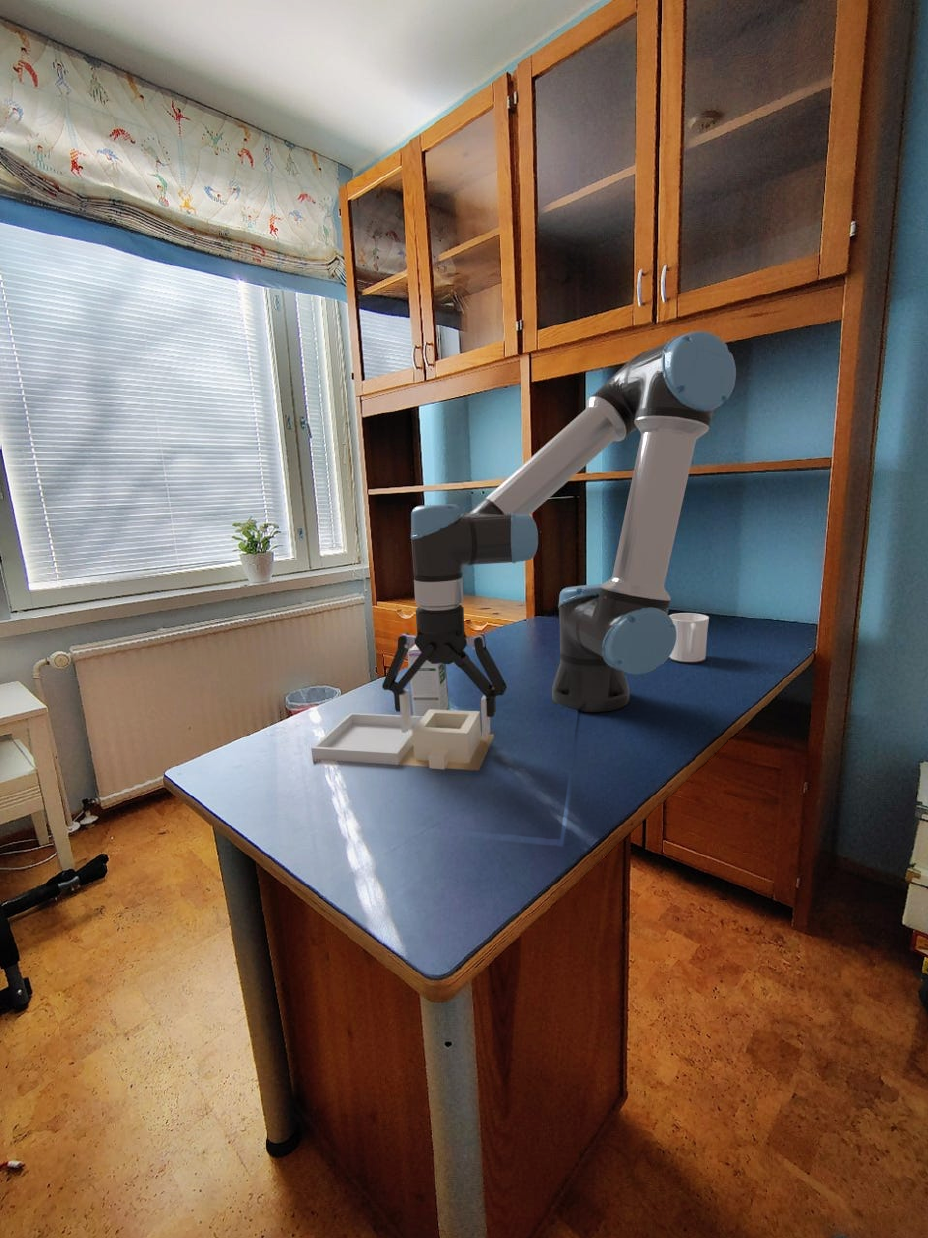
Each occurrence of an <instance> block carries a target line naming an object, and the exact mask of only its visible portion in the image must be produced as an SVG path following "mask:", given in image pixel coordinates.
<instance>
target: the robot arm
mask: <svg viewBox="0 0 928 1238" xmlns="http://www.w3.org/2000/svg"><path fill="white" fill-rule="evenodd" d="M734 359H735V358H734V356H733V354H732V353H731V352H730V351H729V349H728V345H727V344H726V343H725V341H723V340H722V339H721V338H720V337H719V336H717V335H715V334H713V333H711V332H708V331H704V330H703V331H701V330H698V331H692V332H689V333H686V334H679V335H676V336H675V337H673V338H671V339H670V340H669V341H667V342H664V343H662V344H660V345H658V346H655V347H653V348H650V349H648V350H646V351H643V352H641V353H639V354H637V355H635V356H634V357H632V358H631V359H630V360H628V361H627V362H626V363H625V364H624V365H623V366H622V367H621V368H619V370H618V371H616V372H615V373H614V375H612V376H611V377H610V378H609V379H608V380H607V381H606V382H605V383H604V384H603V385H602V386H600V388H599V389H598V390H596V392H594V393H593V395H591V396H590V397H589V398H588V399H587V401H586V403H585V404H586V405H585V406H586V407H585V409H584V410H583V411H582V412H581V413H580V414H578V415H577V416H576V417H575V418H574V419H573V420H572V421H570V422H569V424H567V425H566V426H565V427H564V428H563V429H562V430H561V431H559V432H558V433H557V434H556V435H555V436H554V437H553V438H552V439H550V440H549V441H548V442H547V443H546V444H545V445H544V446H543V447H541V448H540V449H539V450H538V451H537V452H535V453H534V454H533V455H532V456H531V458H529V459H528V460H527V461H526V462H524V464H522V465H521V466H520V467H519V468H518V469H517V470H515V471H514V473H512V474H511V475H510V476H508V478H506V479H505V480H504V481H503V482H502V483H501V484H500V485H499V486H498V487H496V488H495V489H494V490H493V491H492V492H491V493H490V494H488V495H487V497H485V498H484V499H483V500H482V501H481V502H479V504H477V505H476V506H475V507H473V509H472V510H471V511H466V512H464V513H461V510H460V507H459V505H457V504H454V503H453V504H451V503H450V504H429V505H428V504H425V505H418V506H416V507H414V508H413V509H412V511H411V512H410V521H411V522H410V526H411V527H410V528H411V529H410V539H411V553H412V554H411V555H412V568H413V584H414V585H413V586H414V603H415V605H416V606H417V608H416V609H415V619H416V620H415V621H416V622H415V623H416V635H412V634H410V632H404V633H403V634H401V635H400V636H399V637H398V639H397V650H396V653H395V654H394V656H393V659H392V661H391V663H390V666H389V668H388V671H387V673H386V675H385V678H384V680H383V682H382V684H381V687H382V689H383V690H384V691H390V692H392V693H393V698H394V708H395V711H396V712H398V713H400V715H401V727H402V733H406V732H407V731H408V730H409V729H410V727H411V716H412V714H411V711H412V710H411V699H410V698H411V695H410V689H405V688H406V686H407V685H408V684H410V680H411V679H412V678H413V677H414V675H415V674H416V673H417V672H418V670H419V669H420V668H421V667H422V665H423V664H424V663H425V662H426V661H427V660H428V661H429V662H431V664H437V663H443V664H446V665H451V664H453V663H454V664H455V665H456V666H457V668H460V669H461V670H462V671H463V672H464V674H465V675H466V676H467V677H468V678H469V679H470V681H471V682H472V683H473V684H474V685H475V687H476V688H478V690H479V691H480V692H481V693H482V694H483V695H482V697H481V699H480V710H481V711H480V716H481V734H482V738H487V737H488V735H489V734H491V733H490V732H491V718H493V717H494V716H495V714H496V711H497V708H496V707H497V704H496V702H497V701H496V700H497V699H496V697H497V696H498V697H499V696H503V695H504V694H505V692H506V691H507V684H506V682H505V680H504V678H503V677H502V674H501V672H500V671H499V669H498V666H497V665H496V663H495V661H494V659H493V657H492V655H491V654H490V652H489V650H488V648H487V644H486V643H487V642H486V637H485V635H484V634H482V633H480V634H477V636H467V635H466V632H465V608H464V607H463V605H462V603H463V601H464V588H463V587H464V585H463V584H464V583H463V566H473V565H474V566H475V565H489V564H492V565H493V564H505V563H507V564H509V563H512V564H516V563H518V562H519V563H521V562H526V561H527V562H528V561H531V560H532V559H533V558H534V557H535V555H536V553H537V552H538V551H537V550H538V545H539V533H538V527H537V523H536V521H535V519H534V518H533V517H532V516H531V515H532V514H533V513H534V512H535V511H536V510H538V508H539V507H541V506H542V505H543V504H544V503H546V502H547V501H548V500H549V498H550V497H552V496H554V494H555V493H557V491H559V489H561V488H562V487H564V486H565V484H566V483H568V482H569V481H570V480H571V479H572V478H573V477H575V476H576V475H577V473H579V472H580V471H581V470H582V469H584V467H586V466H587V465H588V464H589V463H590V462H592V460H593V459H595V458H597V456H598V455H599V454H601V453H602V452H603V451H604V450H605V449H606V448H607V447H608V446H609V445H610V444H611V443H612V442H621V441H623V440H624V439H626V438H627V437H628V436H629V435H630V434H631V433H633V432H635V431H636V430H637V429H638V431H639V433H640V439H639V444H638V449H637V454H636V458H635V463H634V468H633V472H632V473H633V474H632V478H631V484H630V488H629V492H628V498H627V504H626V506H625V507H626V508H625V512H624V518H623V521H622V522H623V523H622V527H621V532H620V537H619V542H618V547H617V552H616V556H615V560H614V561H615V562H614V565H613V571H612V575H611V578H609V579H608V580H606V581H605V582H603V583H600V584H599V583H598V584H585V585H583V584H582V585H577V586H568V587H565V588H563V589H562V590H561V591H560V593H559V596H558V597H559V598H558V605H557V606H558V607H557V608H558V617H559V618H558V620H559V621H558V622H559V623H558V624H559V651H560V652H559V656H560V657H559V658H560V660H559V661H560V662H559V665H558V668H557V671H556V674H555V677H554V680H553V684H552V688H551V700H552V701H553V702H554V704H556V705H561V706H563V707H566V708H569V709H574V710H577V711H578V712H583V713H602V712H610V711H616V710H618V709H621V708H624V707H625V706H626V705H628V704H629V702H630V686H629V684H628V680H627V677H626V674H630V675H643V674H647V673H650V672H652V671H655V670H656V668H658V667H659V666H662V665H663V664H664V663H665V662H666V661H667V660H668V659H669V656H670V655H671V653H672V651H673V649H674V646H675V643H676V638H677V632H676V627H675V625H674V624H673V620H672V619H671V617H670V616H669V615H670V614H668V613H669V609H670V608H669V607H670V604H671V596H670V594H669V592H667V590H666V588H665V582H666V579H667V574H668V569H669V565H670V559H671V556H672V552H673V546H674V542H675V539H676V538H675V537H676V534H677V533H676V532H677V529H678V525H679V524H678V523H679V518H680V515H681V511H682V510H681V509H682V505H683V502H684V497H685V492H686V487H687V483H688V480H689V479H688V478H689V474H690V469H691V464H692V461H693V455H694V451H695V447H696V442H697V440H699V438H701V437H702V436H704V435H705V434H706V433H708V432H709V430H710V425H711V421H712V417H713V413H714V410H716V409H717V408H718V407H720V406H721V405H723V403H724V402H725V401H727V400H728V399H729V398H730V396H731V394H732V392H733V390H734V387H735V385H736V376H737V368H736V364H735V363H736V362H735V360H734ZM415 644H416V646H417V647H418V649H419V650H420V651H421V654H420V655H419V657H418V658H417V659H416V660H415V662H414V663H413V665H412V666H411V667H410V668H409V667H408V670H407V671H406V672H405V673H404V675H402V676H401V678H400V679H399V681H398V682H397V681H396V680H397V677H398V676H399V673H400V670H401V668H402V666H403V664H404V661H405V659H406V656H408V654H407V652H408V650H410V649H411V648H412V647H413V646H414V645H415ZM467 646H470V648H471V650H472V651H474V652H475V654H476V657H477V658H478V661H479V662H480V664H481V666H482V667H483V668H482V669H484V672H485V673H486V675H487V677H488V678H487V677H486V675H484V674H483V673H482V671H481V670H480V669H479V668H478V667H477V666H476V665H475V663H474V662H473V661H472V660H471V658H470V656H469V655H468V654H467V652H466V651H465V649H466V647H467ZM625 673H626V674H625ZM488 679H489V680H488Z"/></svg>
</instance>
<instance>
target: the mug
mask: <svg viewBox="0 0 928 1238" xmlns="http://www.w3.org/2000/svg"><path fill="white" fill-rule="evenodd" d="M668 615H669V616H670V617H671V619H672V620H673V624H674V625H675V627H676V632H677V638H676V643H675V646H674V649H673V651H672V653H671V655H670V656H669V657H668V659H669V660H670V661H671V662H674V663H678V664H683V665H697V664H702V663H704V662H705V660H706V657H707V656H706V655H707V640H708V639H707V638H708V628H709V620H710V616H708V615H706V614H701V613H693V612H682V613H681V612H679V613H672V614H668Z"/></svg>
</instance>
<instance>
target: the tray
mask: <svg viewBox="0 0 928 1238" xmlns="http://www.w3.org/2000/svg"><path fill="white" fill-rule="evenodd" d="M422 718H423V716H413V715H411V727H410V729H409V730H408V731H407V732H406V733H402V727H401V714H382V713H380V714H379V713H356V712H350V713H349V714H347V716H345V717H344V718H343V719H342V720H341V721H340V722H339V723H337V724H336V725H335V726H334V727H333V728H332V729H331V730H329V732H327V733H326V734H325V735H324V736H323V737H322V738H321V739H320V740H318V742H316V743H315V744H314V745H313V746H312V747H311V757H312V762H313V763H319V762H320V761H321V760H322V761H334V762H335V761H337V762H351V763H366V764H379V765H381V764H382V765H394V766H396V765H397V766H400V765H399V763H400V762H401V760H402V759H403V758H404V756H405V755H406V754H407V752H408V751H409V750H410V748H411V747H412V746H413V735H412V730H413V729H414V728H415V726H416V725H417V724H418V723H419V721H420V720H421V719H422Z"/></svg>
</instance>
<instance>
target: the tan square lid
mask: <svg viewBox="0 0 928 1238" xmlns="http://www.w3.org/2000/svg"><path fill="white" fill-rule="evenodd" d="M450 729H456V728H450ZM495 737H496V735H495V734H492V733H489V735H488V737H487V738H482V733H481V740H480V742H479V744H478V746H477V748H476V750H475V752H474V754H473V756H472V758H471V760H470V762H469V763H458V762H448V764H447V766H446V767H445V769H450V770H451V769H452V770H453V769H454V770H467V771H480V768H481V766H482V765H483V762H484V760H485V758H486V756H487V753H488V751H489V749H490V746H491V744H492V742H493V740H494V738H495ZM398 766H406V767H407V766H409V767H423V768H429V761H428V760H414V747H413V746H412V747H411V748H410V750H409V751H408V752H407V754H406V755H405V756H404V758H403V759H402V760H401V762H400V763H399V765H398Z"/></svg>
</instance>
